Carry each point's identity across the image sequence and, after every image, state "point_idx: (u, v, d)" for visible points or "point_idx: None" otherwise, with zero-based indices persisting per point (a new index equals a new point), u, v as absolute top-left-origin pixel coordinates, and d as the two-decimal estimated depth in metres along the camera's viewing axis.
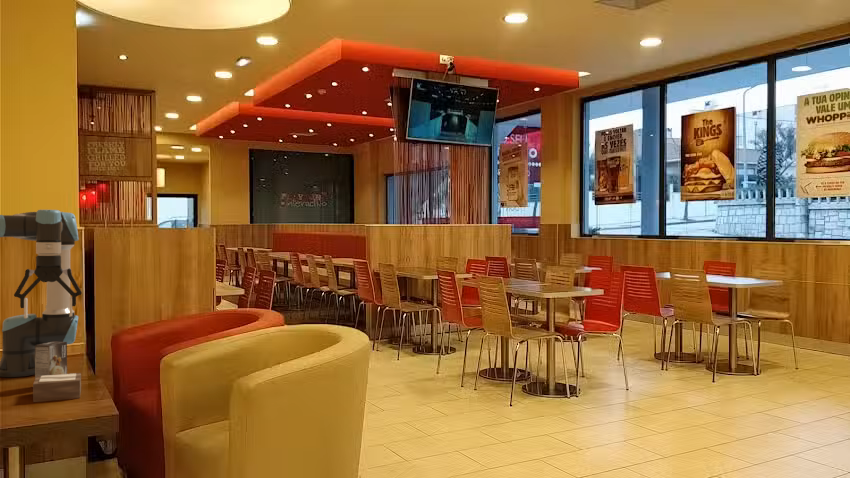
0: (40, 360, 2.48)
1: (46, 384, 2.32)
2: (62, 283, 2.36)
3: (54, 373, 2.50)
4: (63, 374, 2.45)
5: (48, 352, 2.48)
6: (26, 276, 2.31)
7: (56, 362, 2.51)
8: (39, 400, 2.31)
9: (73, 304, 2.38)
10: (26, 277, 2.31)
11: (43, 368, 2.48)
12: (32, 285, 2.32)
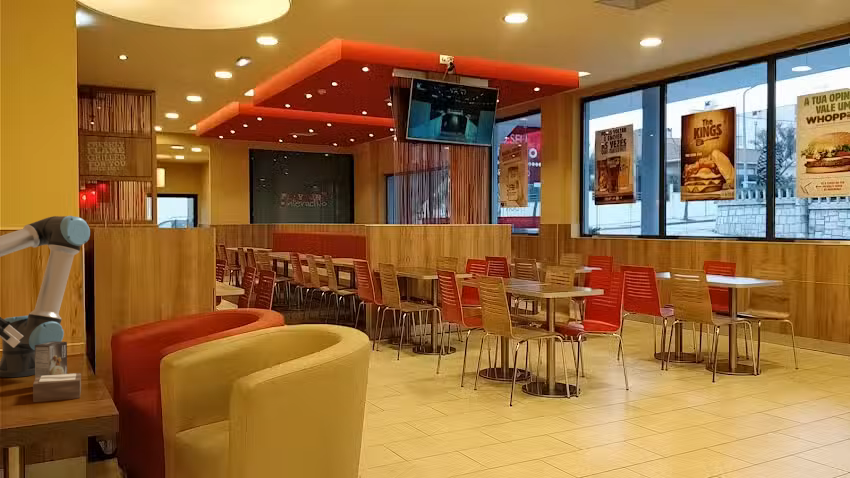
0: (40, 360, 2.48)
1: (46, 384, 2.32)
2: None
3: (54, 373, 2.50)
4: (63, 374, 2.45)
5: (48, 352, 2.48)
6: None
7: (56, 362, 2.51)
8: (39, 400, 2.31)
9: (5, 339, 2.40)
10: None
11: (43, 368, 2.48)
12: None
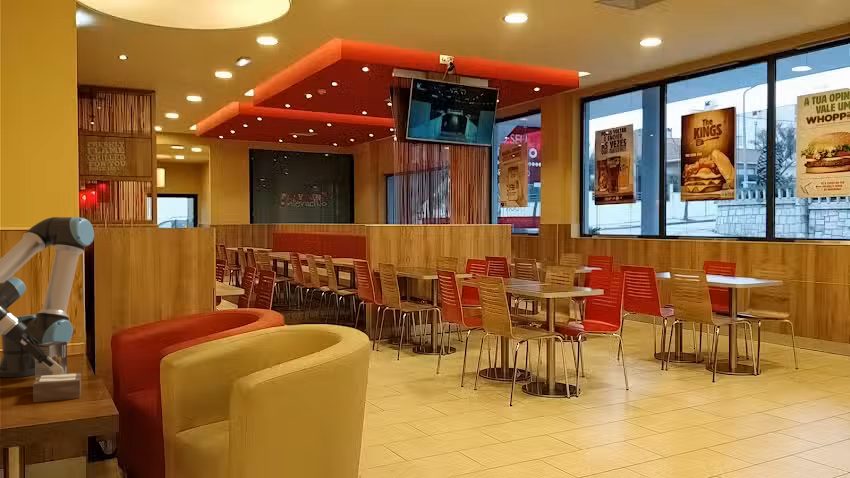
0: None
1: (46, 384, 2.32)
2: None
3: (54, 373, 2.50)
4: (63, 374, 2.45)
5: (48, 352, 2.48)
6: None
7: (56, 362, 2.51)
8: (39, 400, 2.31)
9: (48, 365, 2.47)
10: None
11: (43, 368, 2.48)
12: None
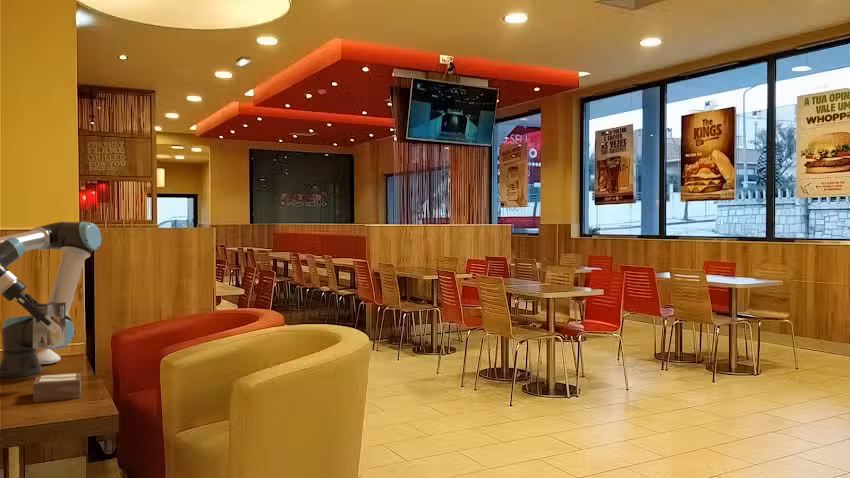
0: None
1: (46, 384, 2.32)
2: None
3: (52, 333, 2.48)
4: (63, 374, 2.45)
5: (47, 311, 2.45)
6: None
7: (54, 322, 2.48)
8: (39, 400, 2.31)
9: (46, 324, 2.44)
10: None
11: (41, 328, 2.46)
12: None
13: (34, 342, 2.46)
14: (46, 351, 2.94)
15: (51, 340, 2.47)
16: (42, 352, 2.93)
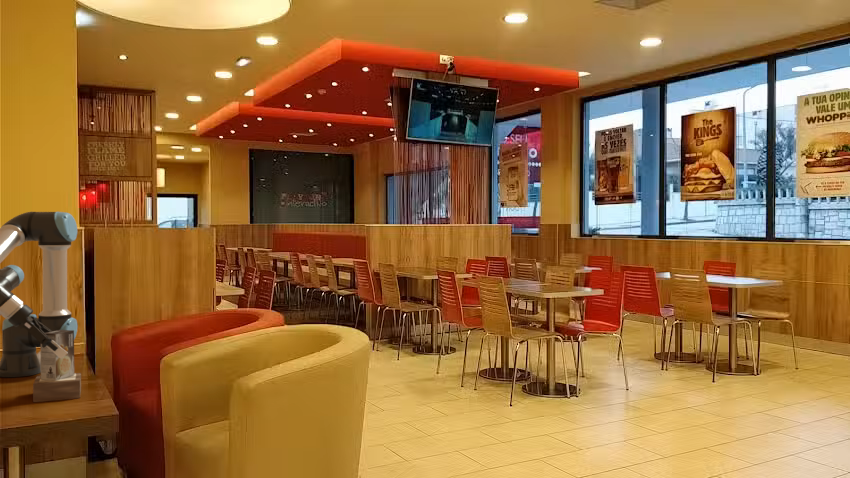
0: (45, 349, 2.35)
1: (46, 384, 2.32)
2: None
3: (60, 363, 2.37)
4: None
5: (55, 341, 2.34)
6: None
7: None
8: (39, 400, 2.31)
9: None
10: None
11: (49, 358, 2.35)
12: None
13: (42, 373, 2.36)
14: None
15: (60, 370, 2.36)
16: None
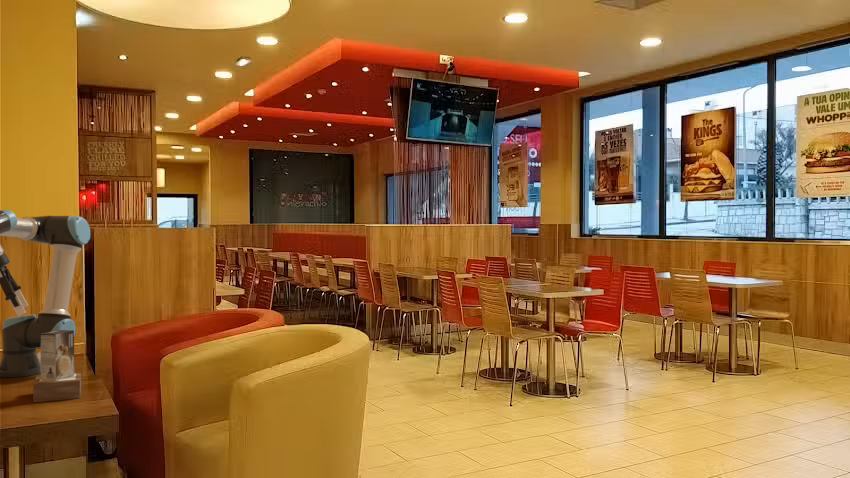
0: (45, 349, 2.35)
1: (46, 384, 2.32)
2: None
3: (60, 363, 2.37)
4: None
5: (55, 341, 2.34)
6: None
7: (62, 351, 2.37)
8: (39, 400, 2.31)
9: (14, 305, 2.35)
10: None
11: (49, 358, 2.35)
12: None
13: (42, 373, 2.36)
14: None
15: (60, 370, 2.36)
16: None
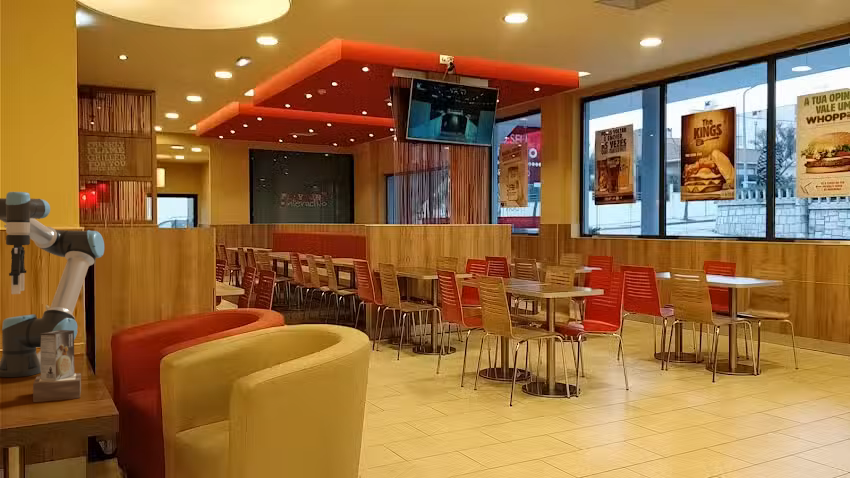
0: (45, 349, 2.35)
1: (46, 384, 2.32)
2: None
3: (60, 363, 2.37)
4: None
5: (55, 341, 2.34)
6: None
7: (62, 351, 2.37)
8: (39, 400, 2.31)
9: None
10: None
11: (49, 358, 2.35)
12: None
13: (42, 373, 2.36)
14: None
15: (60, 370, 2.36)
16: None
